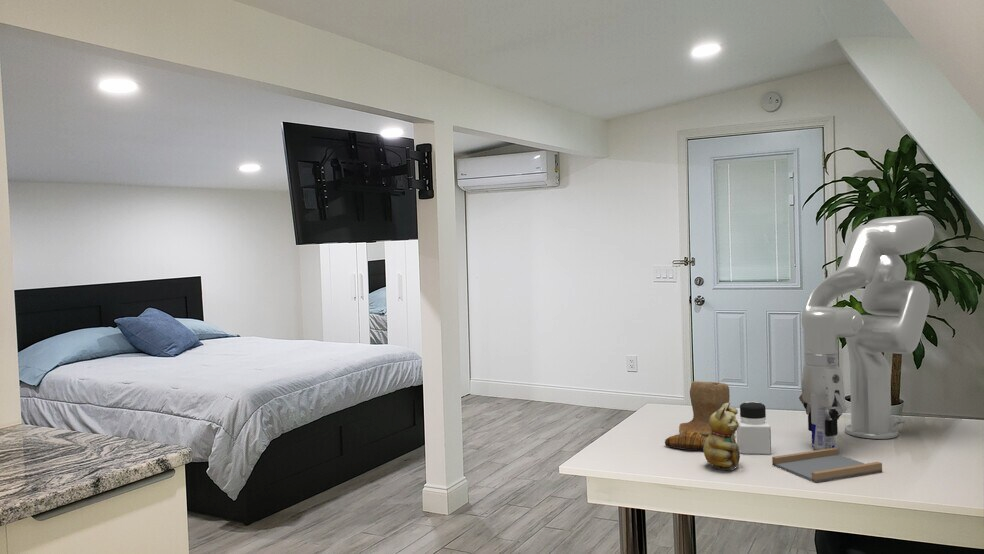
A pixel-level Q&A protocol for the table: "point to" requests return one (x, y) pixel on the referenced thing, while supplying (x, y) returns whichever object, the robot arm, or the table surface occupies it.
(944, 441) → the table surface
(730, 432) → the decorative figurine
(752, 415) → the medicine bottle
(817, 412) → the beverage can
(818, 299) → the robot arm
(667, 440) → the croissant
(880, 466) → the rail mat
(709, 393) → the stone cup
